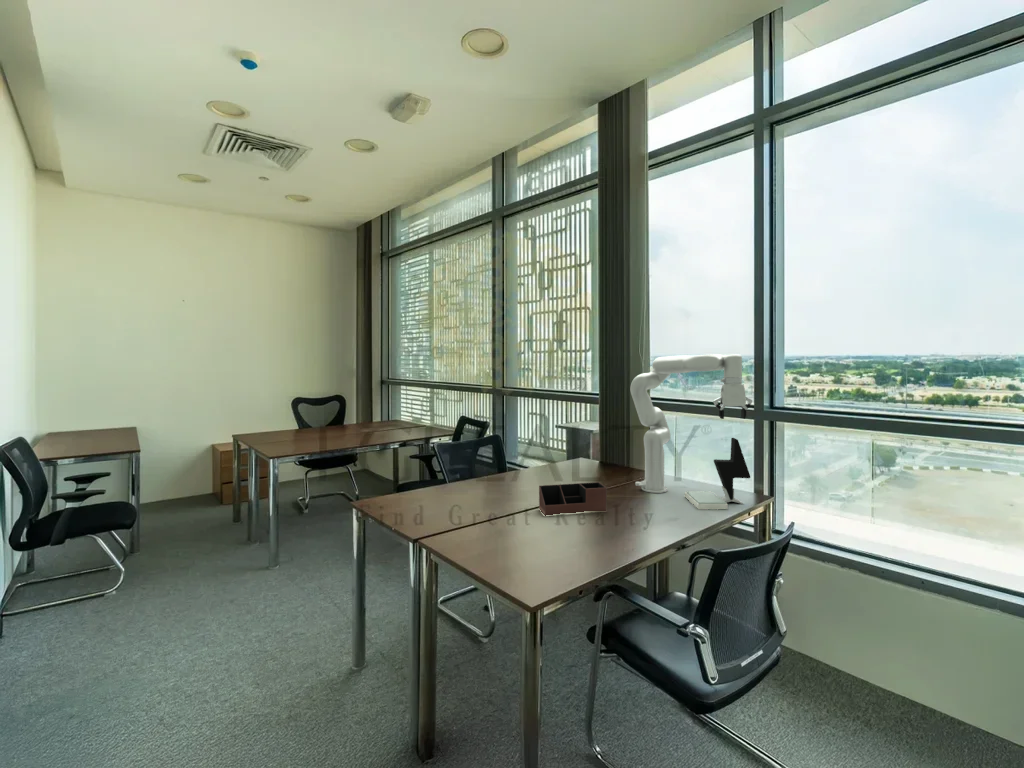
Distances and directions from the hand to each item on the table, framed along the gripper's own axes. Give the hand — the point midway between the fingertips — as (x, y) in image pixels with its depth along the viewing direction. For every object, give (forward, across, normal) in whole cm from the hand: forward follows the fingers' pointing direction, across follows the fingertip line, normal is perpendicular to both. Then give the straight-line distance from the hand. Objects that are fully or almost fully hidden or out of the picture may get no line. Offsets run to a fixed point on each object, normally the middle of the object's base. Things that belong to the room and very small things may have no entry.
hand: (732, 418), depth 224 cm
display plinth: (+39, -12, -1) cm, 41 cm away
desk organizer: (+39, -75, -13) cm, 85 cm away
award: (+40, 0, +1) cm, 40 cm away
